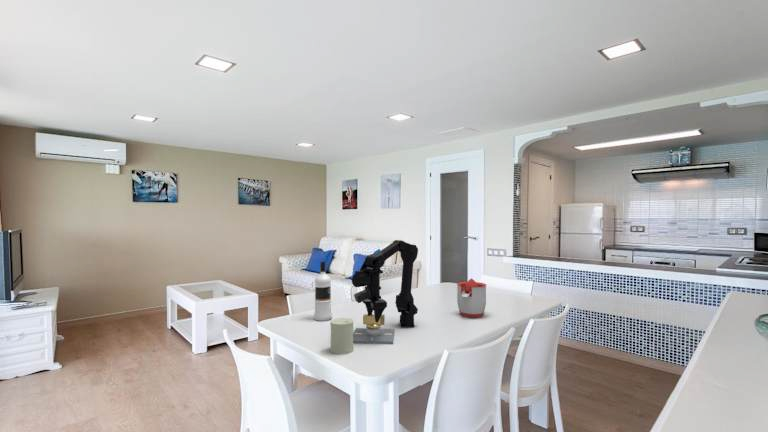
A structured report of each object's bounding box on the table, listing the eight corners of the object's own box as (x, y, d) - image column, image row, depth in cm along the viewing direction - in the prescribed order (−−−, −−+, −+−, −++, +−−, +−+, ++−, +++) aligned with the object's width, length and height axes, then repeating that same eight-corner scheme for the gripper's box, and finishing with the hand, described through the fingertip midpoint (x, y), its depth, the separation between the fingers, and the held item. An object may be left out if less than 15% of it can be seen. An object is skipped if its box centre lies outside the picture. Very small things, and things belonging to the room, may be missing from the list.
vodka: (313, 317, 195) (313, 260, 196) (331, 316, 197) (331, 260, 198) (314, 322, 186) (314, 262, 187) (332, 320, 188) (332, 262, 189)
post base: (394, 330, 171) (394, 322, 172) (392, 344, 154) (392, 334, 154) (356, 330, 173) (356, 321, 173) (350, 343, 155) (350, 333, 155)
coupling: (364, 324, 167) (364, 313, 167) (384, 325, 166) (384, 313, 166) (362, 328, 160) (362, 316, 160) (383, 329, 159) (383, 317, 160)
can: (343, 355, 140) (343, 324, 141) (325, 351, 145) (325, 320, 145) (358, 348, 148) (358, 318, 148) (340, 344, 153) (340, 315, 153)
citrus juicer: (450, 317, 195) (450, 279, 195) (463, 310, 209) (463, 275, 210) (479, 322, 186) (479, 282, 186) (490, 314, 200) (490, 277, 201)
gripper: (349, 282, 169) (349, 316, 169) (362, 289, 152) (362, 327, 151) (372, 280, 173) (372, 313, 173) (387, 287, 156) (387, 324, 155)
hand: (373, 319), depth 163 cm, fingers open, 9 cm apart
